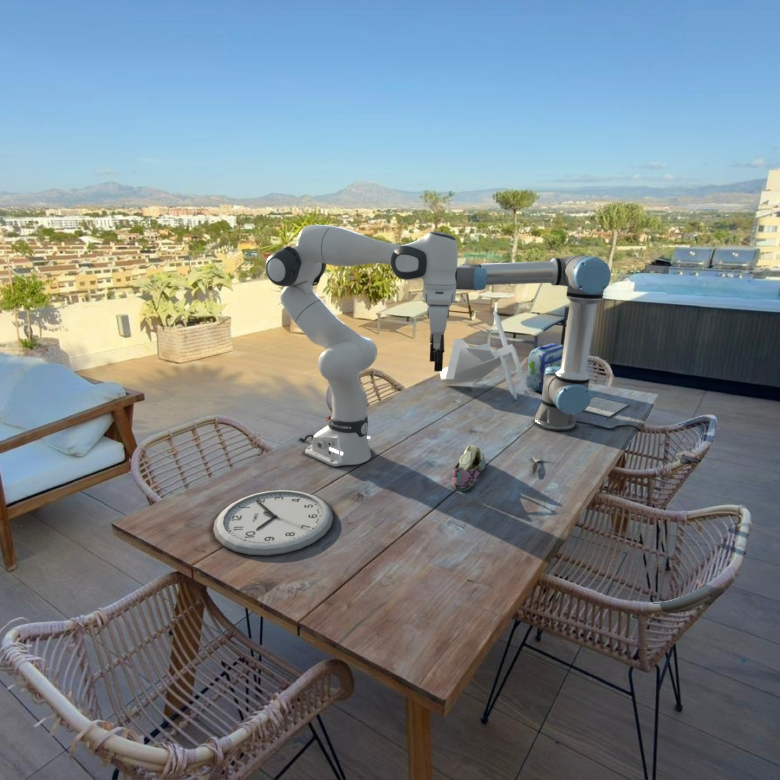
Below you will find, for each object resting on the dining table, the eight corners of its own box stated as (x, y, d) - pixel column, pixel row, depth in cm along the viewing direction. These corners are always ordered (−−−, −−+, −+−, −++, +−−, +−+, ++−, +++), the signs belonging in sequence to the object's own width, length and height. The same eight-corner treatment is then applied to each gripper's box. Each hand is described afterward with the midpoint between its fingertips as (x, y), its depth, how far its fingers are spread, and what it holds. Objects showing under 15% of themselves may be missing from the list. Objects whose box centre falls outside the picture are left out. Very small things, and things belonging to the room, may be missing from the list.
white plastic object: (461, 429, 252) (437, 405, 227) (444, 352, 274) (420, 323, 250) (535, 404, 240) (518, 377, 215) (510, 326, 262) (492, 293, 237)
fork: (528, 475, 162) (529, 469, 161) (533, 455, 176) (534, 449, 176) (537, 476, 161) (537, 470, 160) (541, 456, 175) (542, 451, 175)
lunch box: (542, 395, 240) (547, 351, 233) (522, 390, 247) (526, 347, 241) (569, 384, 257) (575, 343, 251) (550, 380, 264) (554, 339, 258)
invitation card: (608, 416, 214) (573, 407, 224) (608, 416, 214) (573, 408, 224) (628, 404, 229) (594, 396, 238) (628, 405, 229) (594, 397, 238)
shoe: (490, 462, 171) (492, 437, 168) (473, 495, 149) (475, 467, 147) (465, 457, 174) (466, 433, 171) (444, 489, 152) (446, 462, 150)
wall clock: (331, 546, 121) (198, 551, 119) (331, 552, 122) (199, 557, 119) (333, 485, 150) (227, 488, 147) (334, 490, 150) (227, 493, 148)
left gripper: (428, 289, 152) (426, 336, 156) (426, 299, 132) (424, 352, 137) (450, 290, 151) (447, 337, 156) (451, 299, 132) (448, 353, 136)
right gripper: (423, 301, 192) (421, 357, 198) (431, 312, 168) (429, 375, 174) (444, 301, 192) (441, 357, 198) (455, 312, 168) (451, 375, 175)
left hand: (436, 344), depth 146 cm, fingers open, 8 cm apart
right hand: (435, 366), depth 186 cm, fingers open, 13 cm apart
